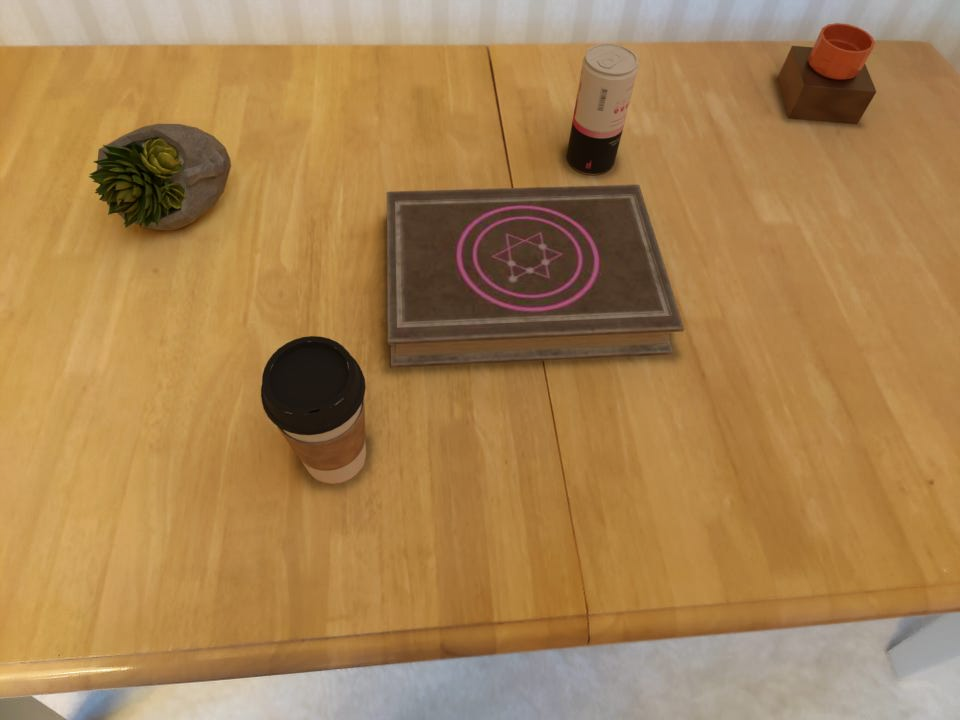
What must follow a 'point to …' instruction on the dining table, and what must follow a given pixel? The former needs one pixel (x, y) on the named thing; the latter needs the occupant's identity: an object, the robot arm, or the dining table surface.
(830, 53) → the bowl
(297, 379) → the coffee cup
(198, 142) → the potted plant
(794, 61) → the stand
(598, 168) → the beverage can
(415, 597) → the dining table surface
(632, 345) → the book
